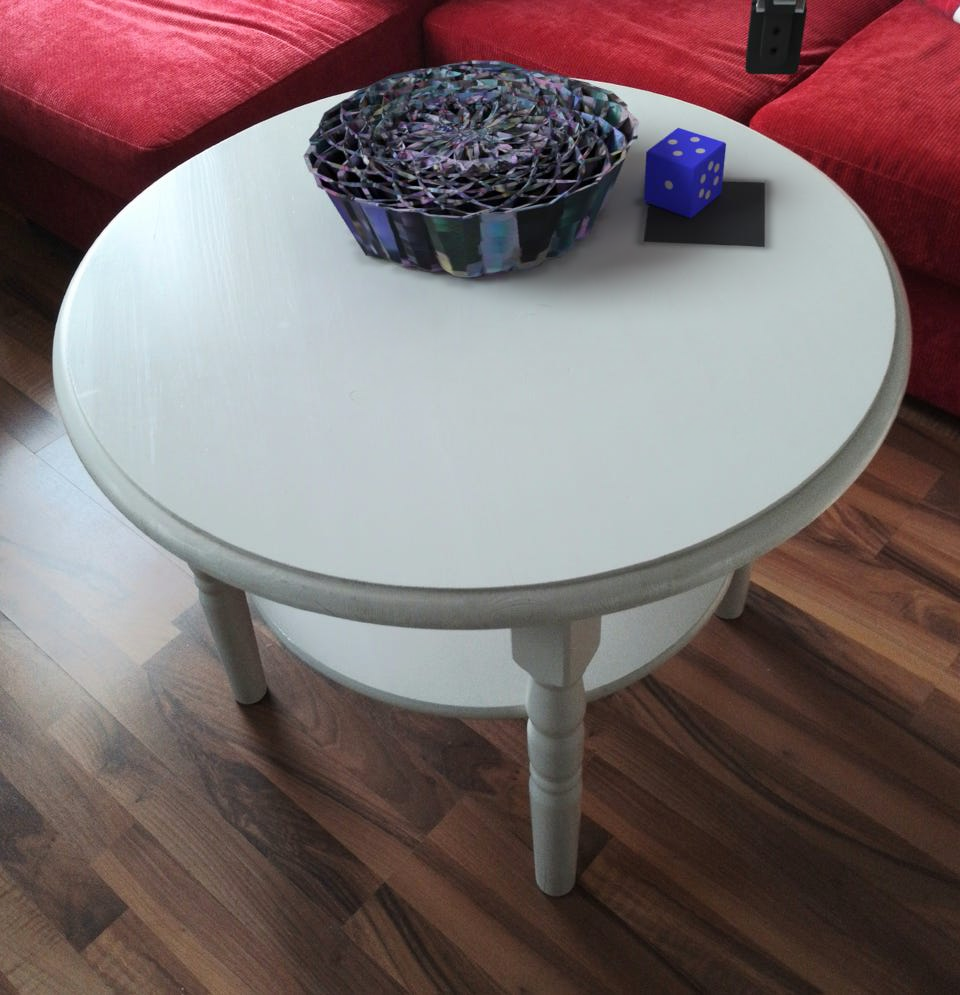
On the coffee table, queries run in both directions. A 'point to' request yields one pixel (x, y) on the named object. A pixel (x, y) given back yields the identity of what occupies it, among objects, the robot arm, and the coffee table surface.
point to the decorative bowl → (471, 165)
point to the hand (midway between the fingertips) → (771, 67)
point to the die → (684, 172)
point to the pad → (714, 219)
